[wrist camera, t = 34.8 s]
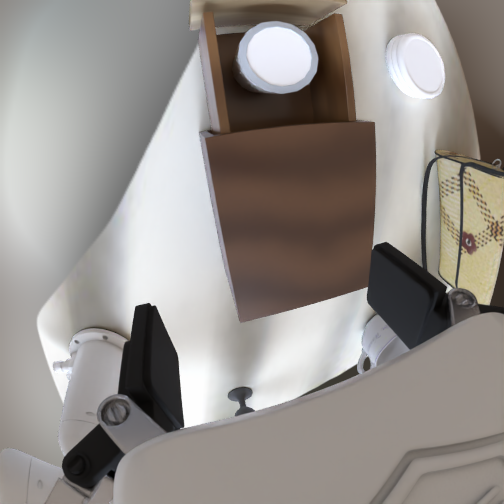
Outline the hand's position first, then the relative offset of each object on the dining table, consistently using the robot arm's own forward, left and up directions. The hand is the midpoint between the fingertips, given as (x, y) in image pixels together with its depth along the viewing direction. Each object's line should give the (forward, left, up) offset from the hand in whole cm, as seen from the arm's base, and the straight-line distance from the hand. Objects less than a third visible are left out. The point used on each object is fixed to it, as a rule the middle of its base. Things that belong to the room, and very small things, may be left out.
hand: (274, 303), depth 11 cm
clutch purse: (+36, -12, -23) cm, 44 cm away
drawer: (+6, +13, -22) cm, 26 cm away
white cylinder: (+6, +12, -21) cm, 25 cm away
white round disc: (+29, +14, -23) cm, 40 cm away
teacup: (+24, -33, -23) cm, 47 cm away
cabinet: (+6, -3, -23) cm, 24 cm away
